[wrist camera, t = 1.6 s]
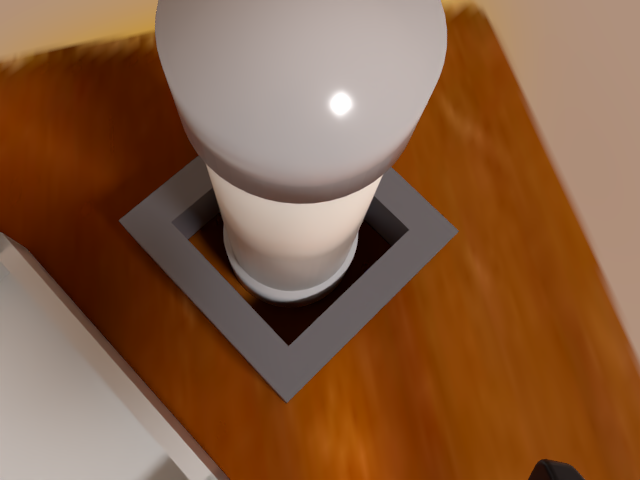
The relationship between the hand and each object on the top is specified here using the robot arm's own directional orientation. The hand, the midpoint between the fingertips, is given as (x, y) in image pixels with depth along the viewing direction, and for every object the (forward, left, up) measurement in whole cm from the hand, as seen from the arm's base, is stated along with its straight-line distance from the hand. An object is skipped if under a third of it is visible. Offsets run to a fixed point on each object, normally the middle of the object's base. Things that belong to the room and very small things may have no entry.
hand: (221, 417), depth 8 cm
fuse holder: (+5, +3, -12) cm, 14 cm away
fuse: (+5, +3, -12) cm, 14 cm away
